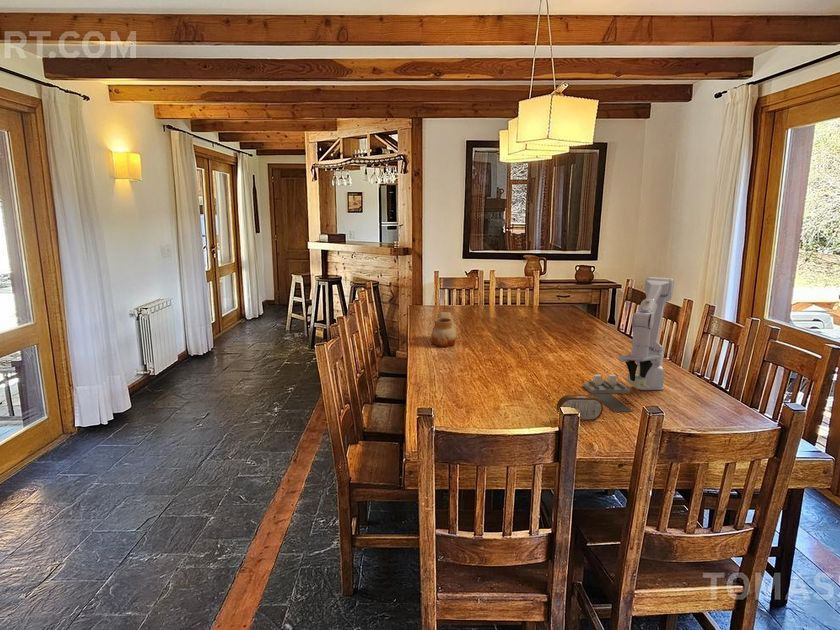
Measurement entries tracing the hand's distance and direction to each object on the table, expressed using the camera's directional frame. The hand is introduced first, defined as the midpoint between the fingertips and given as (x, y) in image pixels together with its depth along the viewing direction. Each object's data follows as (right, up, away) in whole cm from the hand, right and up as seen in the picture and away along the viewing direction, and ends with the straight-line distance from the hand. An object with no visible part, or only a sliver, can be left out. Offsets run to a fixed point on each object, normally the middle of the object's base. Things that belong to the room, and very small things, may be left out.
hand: (637, 380), depth 191 cm
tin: (-27, -11, -20) cm, 36 cm away
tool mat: (-11, -8, -4) cm, 14 cm away
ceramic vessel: (-67, +9, +84) cm, 108 cm away
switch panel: (-7, -5, +11) cm, 14 cm away
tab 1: (-11, -3, +12) cm, 17 cm away
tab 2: (-5, -3, +13) cm, 14 cm away
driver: (0, -2, -2) cm, 3 cm away
